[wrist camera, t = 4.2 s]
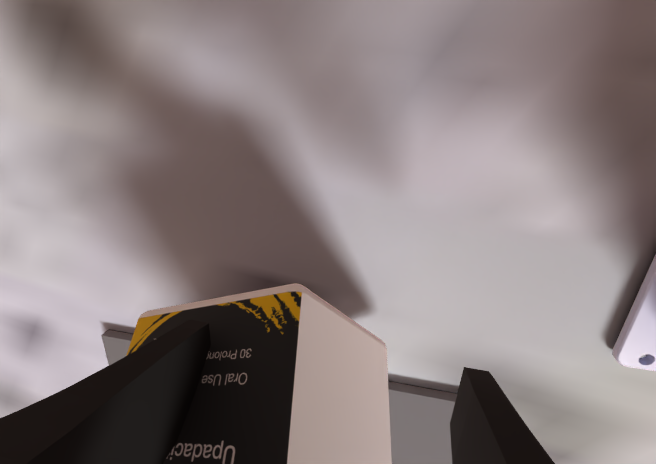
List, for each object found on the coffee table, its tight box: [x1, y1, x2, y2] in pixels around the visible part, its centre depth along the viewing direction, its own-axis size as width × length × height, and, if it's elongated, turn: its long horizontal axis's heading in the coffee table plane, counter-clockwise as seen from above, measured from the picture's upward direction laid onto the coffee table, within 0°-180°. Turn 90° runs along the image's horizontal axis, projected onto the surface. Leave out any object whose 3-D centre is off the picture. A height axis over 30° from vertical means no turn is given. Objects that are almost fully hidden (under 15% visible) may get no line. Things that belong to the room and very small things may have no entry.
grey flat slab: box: [102, 330, 457, 464], centre depth 20 cm, size 20×13×1 cm, turn 88°
